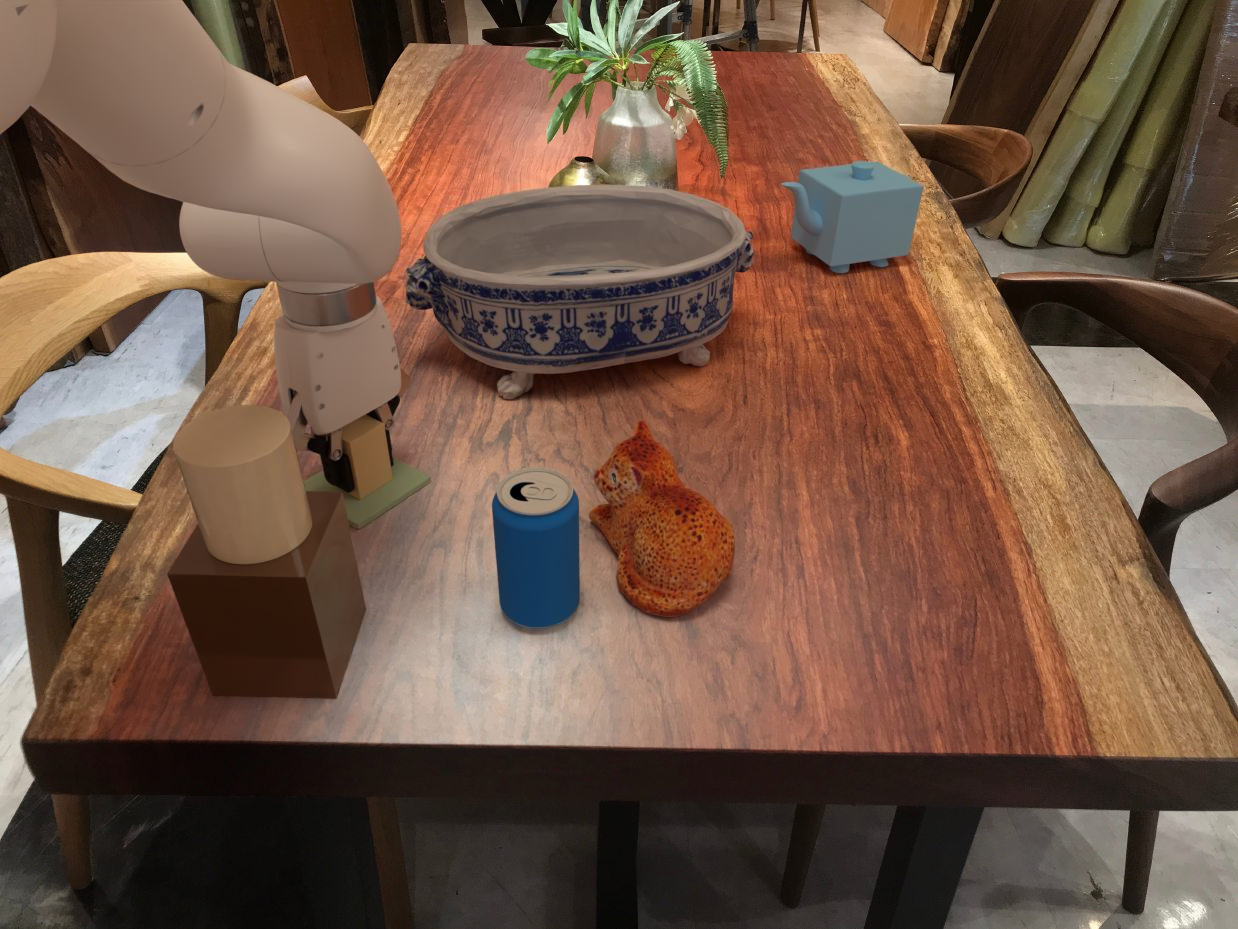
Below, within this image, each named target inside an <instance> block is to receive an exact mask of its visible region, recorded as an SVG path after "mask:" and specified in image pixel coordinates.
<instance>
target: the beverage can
mask: <svg viewBox="0 0 1238 929" xmlns="http://www.w3.org/2000/svg"><path fill="white" fill-rule="evenodd" d="M491 513H492V514H491V515H492V524H493V525H492V526H493V537H494V550H495V564H496V574H497V575H496V576H497V587H498V599H499V601H498V602H499V606H500V609H501V611H502V613H503V615H504V616H505V617H506V618H507V619H508V620H510V621H511V622H513V623H515V624H516V625H519V626H521V627H524V628H530V629H544V628H550V627H554V626H557V625H559V624H562V623H564V622H566V621H567V620H568V619H570V618H571V617H572V616H573V615H574V614H575V612H576V611H577V609H578V608H579V604H580V600H581V594H580V593H581V592H580V590H581V586H580V583H581V582H580V574H581V573H580V572H581V570H580V500H579V496H578V494H577V491H576V490H575V489H574V485H573V482H572V481H571V479H570V478H569V477H568V476H567V475H566V474H565V473H563V472H561V471H559V470H557V469H554V468H551V467H545V466H529V467H523V468H520V469H519V468H518V469H516V470H513V471H512V472H509V473H508V474H506V475H505V476H503V478H501V480H500V481H499V482H498V484H497V487H496V492H495V493H494V495H493V498H492V502H491Z"/></svg>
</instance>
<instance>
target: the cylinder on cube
mask: <svg viewBox="0 0 1238 929" xmlns="http://www.w3.org/2000/svg"><path fill="white" fill-rule="evenodd" d="M172 443H173V444H172V448H173V452H174V454H175V458H176V461H177V464H178V467H179V470H180V474H181V476H182V480H183V483H184V485H185V488H186V491H187V494H188V497H189V500H190V503H191V506H192V509H193V512H194V516H195V519H196V521H197V524H196V526H195V527H194V529H193V530H192V532H191V534H190V536H189V537H188V539H187V541H186V542H185V543H184V545H183V546H182V548H181V550H180V551H179V553H178V555H177V556H176V558H175V560H174V561H173V563H172V565H171V566H170V568H169V569H168V571H167V573H166V575H167V578H168V581H169V584H170V586H171V589H172V592H173V594H174V597H175V599H176V601H177V605H178V608H179V610H180V612H181V615H182V618H183V621H184V623H185V626H186V628H187V631H188V634H189V637H190V640H191V642H192V644H193V646H194V650H195V652H196V655H197V658H198V660H199V663H200V667H201V669H202V671H203V674H204V676H205V679H206V681H207V684H208V687H209V690H210V693H211V694H212V696H235V697H236V696H237V697H271V698H273V697H274V698H275V697H277V698H310V699H312V698H313V699H337V697H338V694H339V691H340V688H341V686H342V682H343V679H344V678H345V674H346V671H347V669H348V668H347V667H348V666H349V662H350V659H351V656H352V653H353V649H354V646H355V644H356V641H357V638H358V635H359V632H360V629H361V626H362V624H363V620H364V617H365V614H366V611H367V606H366V600H365V597H364V596H365V595H364V590H363V585H362V581H361V577H360V572H359V567H358V562H357V557H356V552H355V547H354V542H353V538H352V532H351V526H350V524H349V522H348V517H347V512H346V507H345V502H344V498H343V493H342V492H321V491H306V489H305V485H304V481H305V480H304V476H303V473H302V468H301V464H300V460H299V456H298V452H297V451H298V450H296V447H295V442H294V438H293V434H292V429H291V425H290V422H289V420H288V418H287V417H286V416H285V415H284V412H281V411H280V410H278V409H276V408H273V407H269V406H265V405H259V404H239V405H231V406H230V405H229V406H225V407H221V408H218V409H214V410H211V411H208V412H206V413H203V414H201V415H199V416H197V417H194V418H193V419H192V420H190V421H189V422H187V423H186V424H185V425H183V427H181V428H180V429H179V431H178V432H177V433H176V435H175V437H174V439H173V442H172Z"/></svg>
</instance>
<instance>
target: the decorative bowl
mask: <svg viewBox="0 0 1238 929" xmlns="http://www.w3.org/2000/svg"><path fill="white" fill-rule="evenodd" d="M753 238H754V232H753V231H747V230H746V227H745V224H744V222H743V221H742V220H741V219H740V217H739V216H738V215H737V214H736V213H735V212H733V211H732V210H731V209H730V208H728V207H726V206H724V205H722V204H721V203H718V202H716V201H714V200H711V199H708V198H705V197H702V196H699V195H696V194H692V193H688V192H684V191H679V190H675V189H670V188H663V187H653V186H646V185H628V184H624V185H623V184H578V185H577V184H576V185H575V184H574V185H563V186H562V185H561V186H550V187H542V188H533V189H526V190H520V191H519V190H518V191H514V192H508V193H507V192H506V193H502V194H497V195H491V196H488V197H484V198H481V199H478V200H474V201H471V202H468V203H465V204H462V205H459V206H457V207H456V208H454V209H452V210H450V211H448V212H446V213H444V214H443V215H442V216H440V217H439V218H437V219H436V221H434V222H433V223H432V224H431V226H430V227H429V228H428V231H427V233H426V235H425V237H424V239H423V243H422V244H423V253H424V256H423V258H418V259H417V260H416V261H415V262H414V263H413V264H412V266H410V267H408V268H406V269H405V273H406V275H407V277H408V278H407V279H406V280H405V281H404V286H405V299H404V302H405V303H406V304H408V305H409V306H410V308H412V309H415V310H420V311H427V310H432V312H433V315H434V318H435V320H437V322H438V323H439V325H441V327H442V328H443V330H444V332H445V334H446V336H447V337H448V338H447V339H449V341H451V343H452V344H453V345H454V346H455V347H456V348H457V349H459V350H460V351H461V352H463V353H464V354H466V355H467V356H468V357H469V358H471V359H474V360H477V361H478V362H481V363H483V364H485V365H487V366H491V367H494V368H498V369H502V370H505V371H506V370H507V371H512V372H510V373H507V374H505V375H503V376H501V377H500V379H498V380H497V382H496V384H497V385H496V389H497V394H498V396H500V397H502V398H503V399H504V400H514V399H516V398H518V397H521V396H522V395H523V394H524V393H527V392H529V391H530V390H531V389H532V388H533V387H534V382H535V381H534V379H535V374H544V375H545V374H546V375H554V374H567V373H568V374H569V373H575V372H576V373H577V372H582V371H588V370H589V371H590V370H596V369H602V368H607V367H611V366H618V365H624V364H630V363H637V362H641V361H647V360H653V359H659V358H664V357H667V356H671V355H673V354H676V353H677V354H678V355H677V357H678V360H679V361H680V362H681V363H682V364H683V365H688V364H691V365H692V366H696V367H705V366H706V365H708V364H709V361H710V358H711V352H710V351H709V350H708V349H707V348H706V347H705V345H704V344H706V343H708V342H710V341H712V340H714V339H715V338H716V337H718V336H719V335H720V334H721V333H723V332H724V331H725V329H726V328H727V325H728V322H729V321H730V317H731V315H732V312H733V308H734V286H735V277H736V273H746V272H747V271H749V270H750V269H751V267H752V265H753V263H754V254H755V249H754V248H753V247H752V244H751V240H752V239H753Z"/></svg>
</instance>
